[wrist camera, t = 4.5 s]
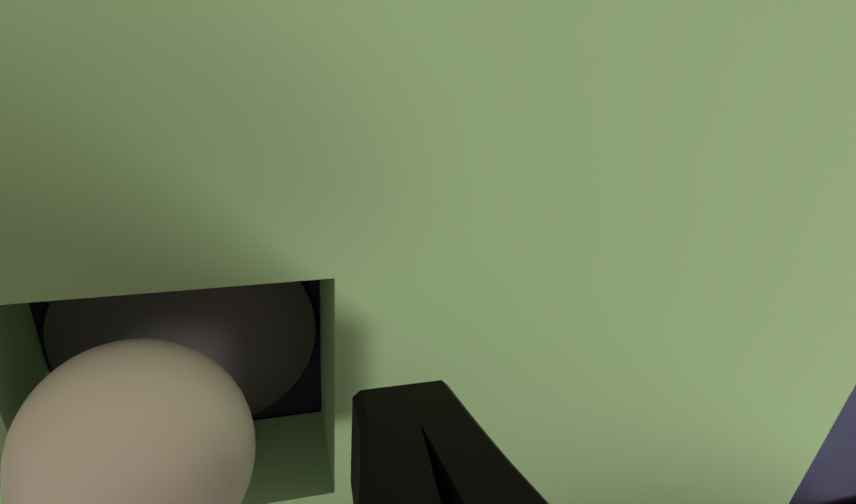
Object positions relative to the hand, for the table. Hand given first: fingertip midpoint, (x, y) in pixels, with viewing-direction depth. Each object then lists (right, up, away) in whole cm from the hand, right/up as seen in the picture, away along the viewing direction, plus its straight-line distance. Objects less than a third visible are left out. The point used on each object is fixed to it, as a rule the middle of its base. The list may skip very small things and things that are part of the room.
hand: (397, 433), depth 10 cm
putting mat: (+1, +2, +3) cm, 3 cm away
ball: (-5, 0, 0) cm, 5 cm away
